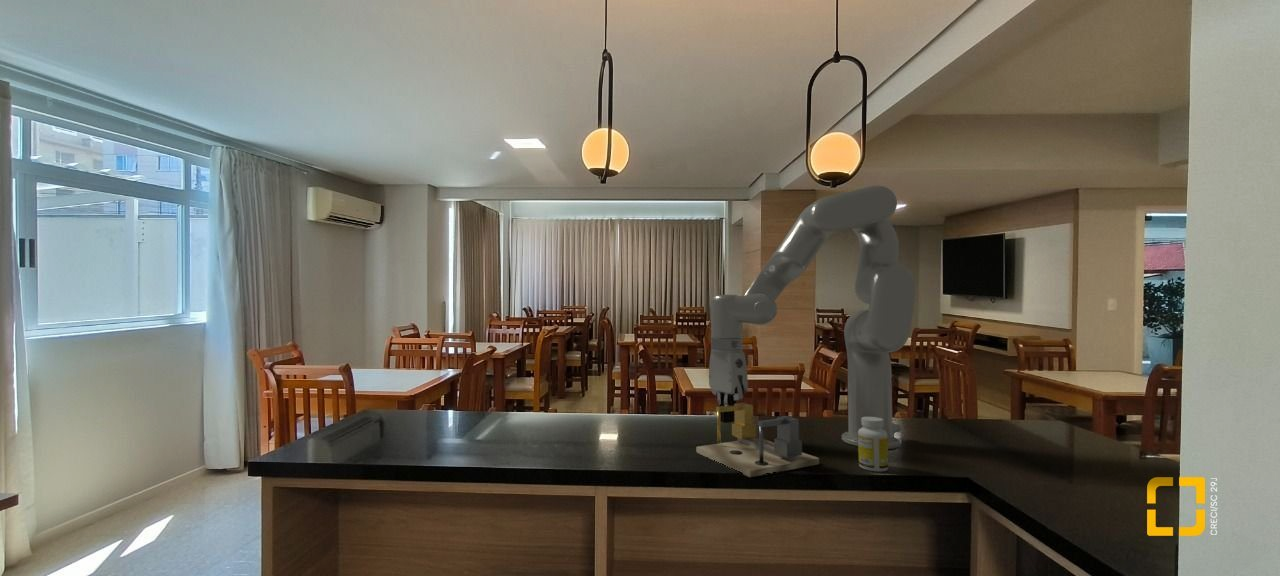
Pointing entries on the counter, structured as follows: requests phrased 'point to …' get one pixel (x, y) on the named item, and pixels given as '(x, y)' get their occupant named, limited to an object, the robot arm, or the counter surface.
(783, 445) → the fixed leg
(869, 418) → the supplement bottle
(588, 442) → the counter surface
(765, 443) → the board
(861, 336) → the robot arm
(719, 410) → the slider leg
